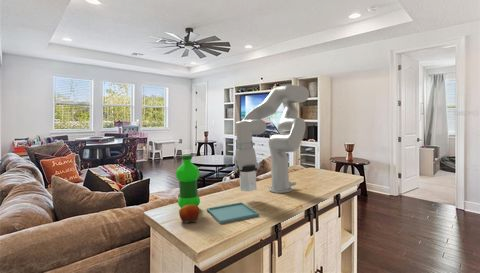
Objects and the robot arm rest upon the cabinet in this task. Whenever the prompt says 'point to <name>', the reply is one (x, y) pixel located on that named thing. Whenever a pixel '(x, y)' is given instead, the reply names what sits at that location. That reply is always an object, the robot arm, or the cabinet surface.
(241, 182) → the jar
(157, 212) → the cabinet surface
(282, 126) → the robot arm
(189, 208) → the fruit
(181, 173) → the plastic bottle
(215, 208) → the tray
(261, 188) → the cabinet surface
